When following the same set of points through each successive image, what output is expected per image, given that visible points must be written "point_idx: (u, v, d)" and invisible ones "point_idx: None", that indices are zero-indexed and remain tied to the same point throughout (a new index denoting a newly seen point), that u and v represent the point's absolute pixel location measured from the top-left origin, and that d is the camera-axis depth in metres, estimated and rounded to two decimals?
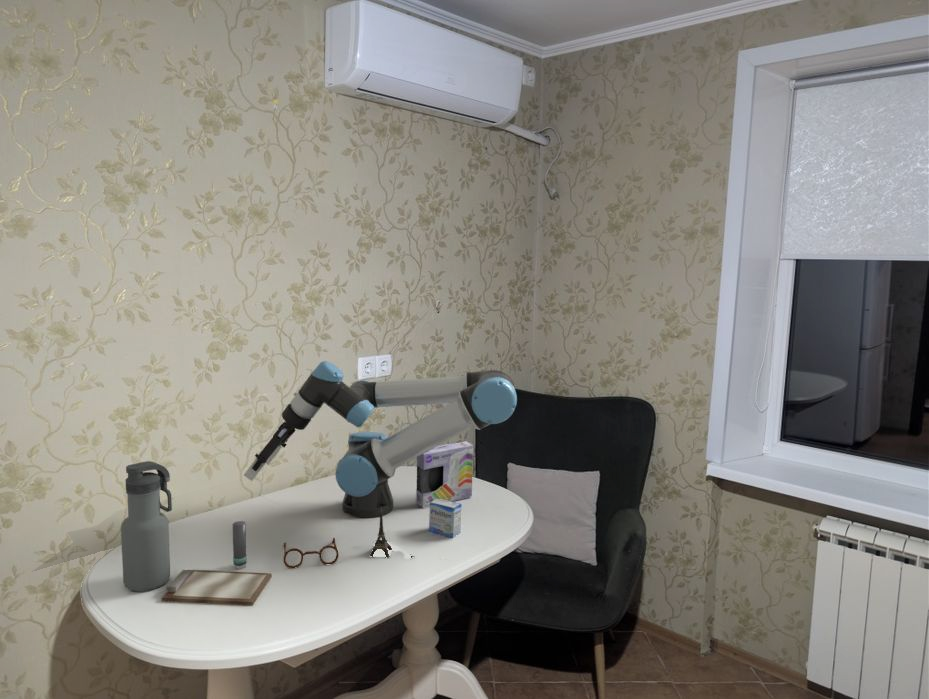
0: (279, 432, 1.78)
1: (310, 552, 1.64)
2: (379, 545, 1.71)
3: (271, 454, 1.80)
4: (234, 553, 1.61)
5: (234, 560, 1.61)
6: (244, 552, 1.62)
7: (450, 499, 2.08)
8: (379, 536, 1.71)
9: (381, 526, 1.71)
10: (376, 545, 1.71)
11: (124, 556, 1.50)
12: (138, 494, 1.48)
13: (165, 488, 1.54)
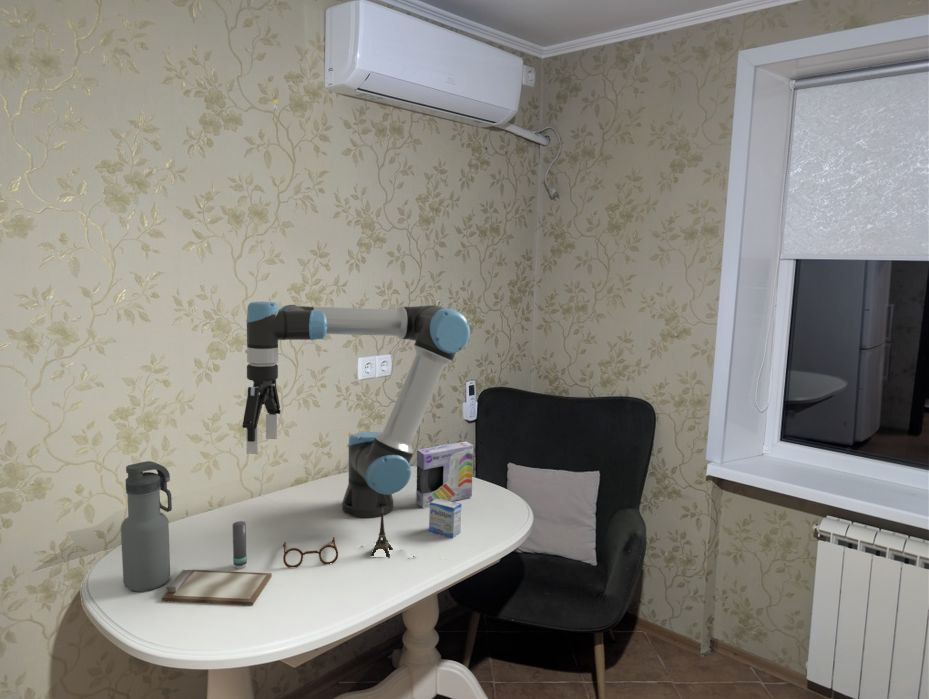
0: (250, 391, 1.63)
1: (310, 552, 1.65)
2: (380, 545, 1.71)
3: (258, 417, 1.64)
4: (234, 553, 1.61)
5: (234, 560, 1.61)
6: (244, 552, 1.62)
7: (450, 499, 2.08)
8: (380, 536, 1.71)
9: (382, 526, 1.71)
10: (377, 545, 1.71)
11: (124, 556, 1.50)
12: (138, 494, 1.48)
13: (165, 488, 1.54)
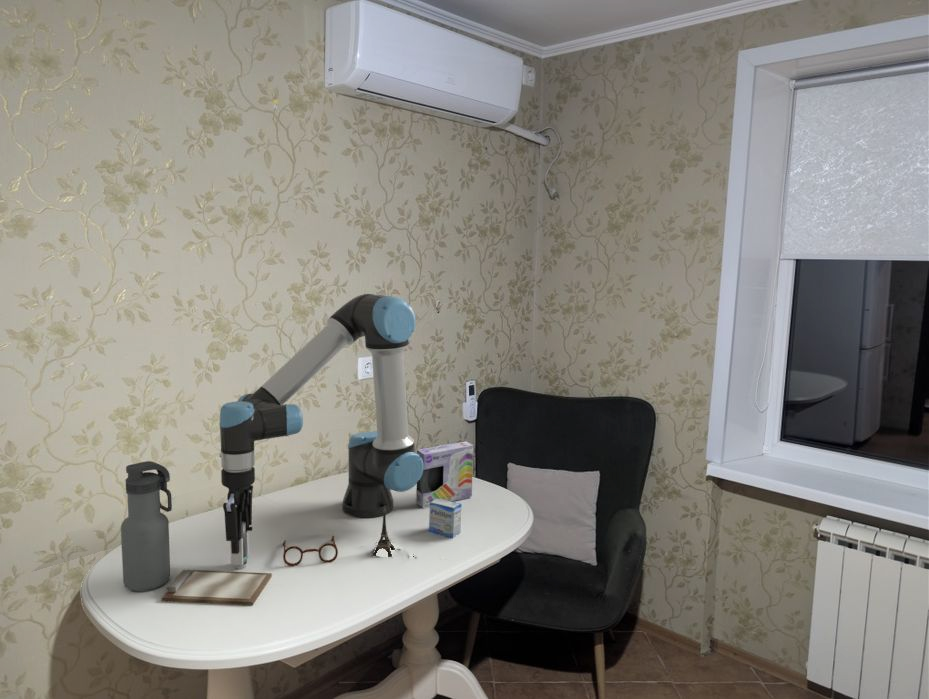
0: (226, 508, 1.54)
1: (309, 550, 1.66)
2: (382, 545, 1.71)
3: (240, 528, 1.59)
4: None
5: None
6: (244, 552, 1.62)
7: (450, 499, 2.08)
8: (382, 536, 1.72)
9: (384, 526, 1.72)
10: (379, 544, 1.71)
11: (124, 556, 1.50)
12: (138, 494, 1.48)
13: (165, 488, 1.54)
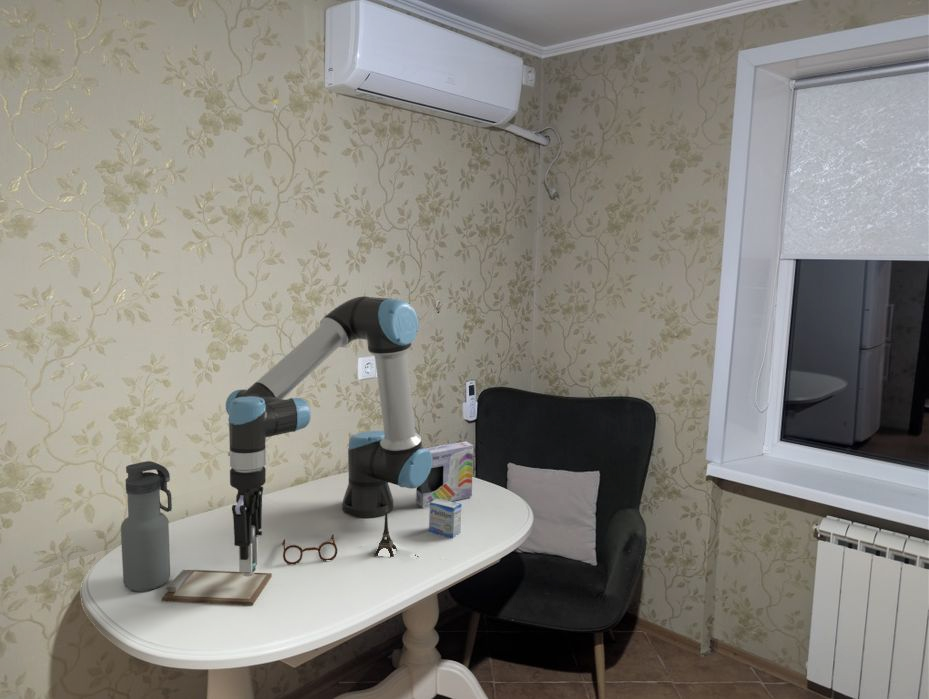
0: (235, 511, 1.44)
1: (309, 548, 1.66)
2: (384, 544, 1.71)
3: (249, 532, 1.48)
4: None
5: None
6: (253, 558, 1.51)
7: (450, 499, 2.08)
8: (384, 535, 1.72)
9: (386, 525, 1.72)
10: (381, 544, 1.71)
11: (124, 556, 1.50)
12: (138, 494, 1.48)
13: (165, 488, 1.54)
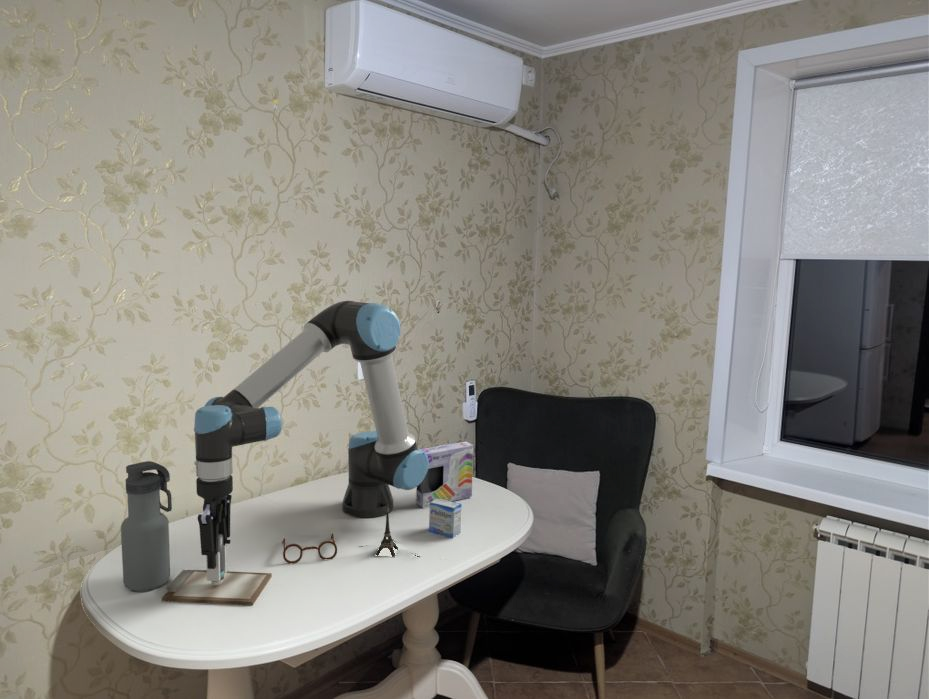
0: (201, 521, 1.43)
1: (309, 547, 1.67)
2: (385, 544, 1.72)
3: (217, 541, 1.48)
4: None
5: None
6: (221, 567, 1.51)
7: (450, 499, 2.08)
8: (385, 535, 1.72)
9: (387, 525, 1.72)
10: (382, 544, 1.72)
11: (124, 556, 1.50)
12: (138, 494, 1.48)
13: (165, 488, 1.54)
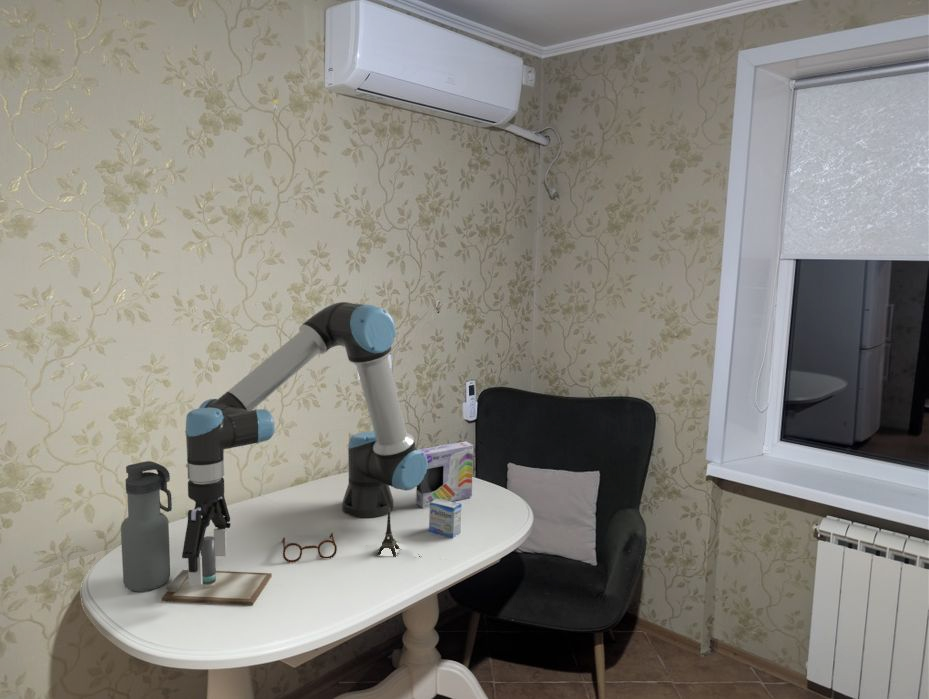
0: (190, 515, 1.42)
1: (309, 546, 1.68)
2: (386, 544, 1.72)
3: (201, 543, 1.44)
4: (202, 571, 1.50)
5: (202, 578, 1.51)
6: (213, 569, 1.51)
7: (450, 499, 2.08)
8: (386, 535, 1.72)
9: (389, 525, 1.72)
10: (383, 544, 1.72)
11: (124, 556, 1.50)
12: (138, 494, 1.48)
13: (165, 488, 1.54)
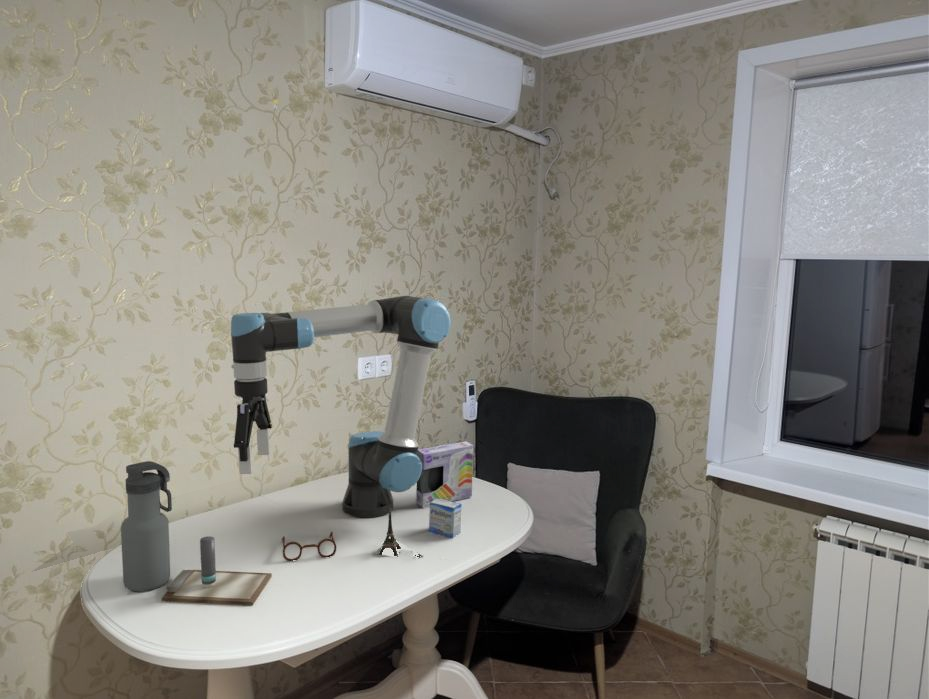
0: (239, 409, 1.55)
1: (309, 545, 1.68)
2: (388, 544, 1.72)
3: (249, 435, 1.56)
4: (202, 571, 1.50)
5: (202, 578, 1.51)
6: (213, 569, 1.51)
7: (450, 499, 2.08)
8: (388, 535, 1.72)
9: (390, 525, 1.72)
10: (385, 544, 1.72)
11: (124, 556, 1.50)
12: (138, 494, 1.48)
13: (165, 488, 1.54)
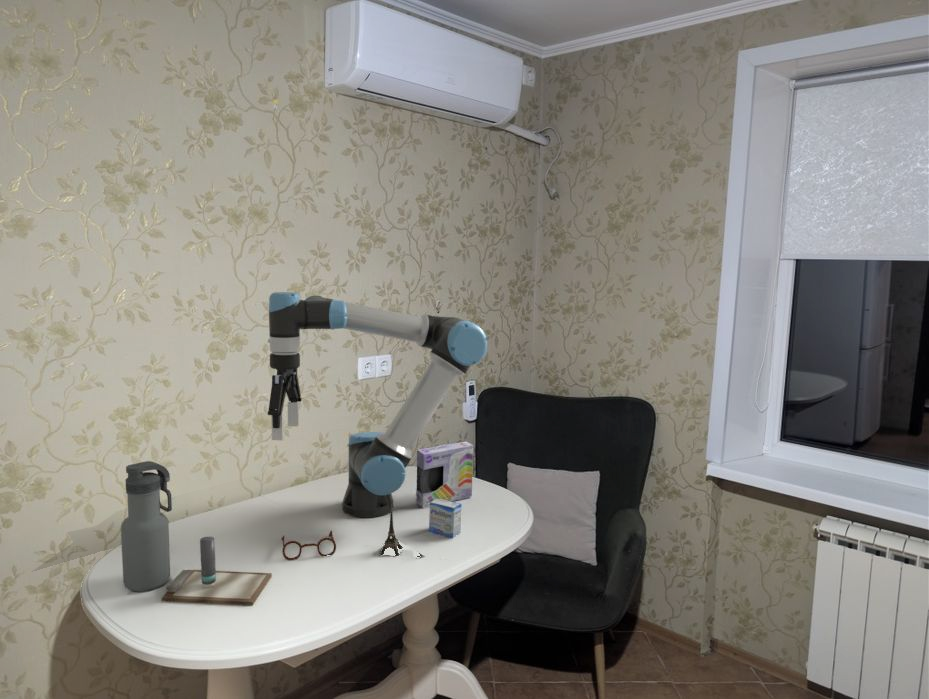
0: (274, 379, 1.67)
1: (308, 544, 1.69)
2: (389, 544, 1.72)
3: (282, 404, 1.69)
4: (202, 571, 1.50)
5: (202, 578, 1.51)
6: (213, 570, 1.51)
7: (450, 499, 2.08)
8: (389, 535, 1.72)
9: (391, 525, 1.72)
10: (386, 543, 1.72)
11: (124, 556, 1.50)
12: (138, 494, 1.48)
13: (165, 488, 1.54)
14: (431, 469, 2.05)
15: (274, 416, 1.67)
